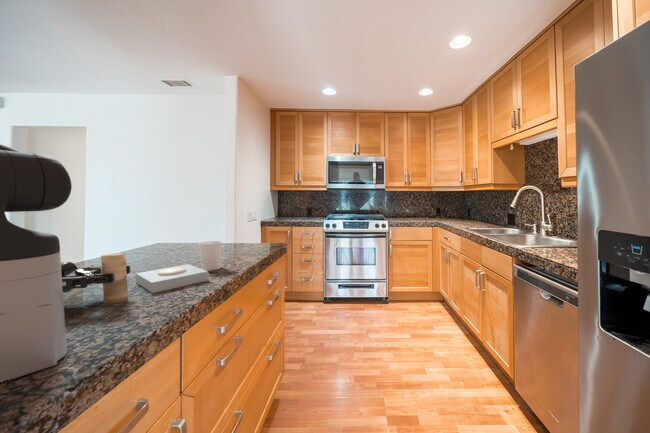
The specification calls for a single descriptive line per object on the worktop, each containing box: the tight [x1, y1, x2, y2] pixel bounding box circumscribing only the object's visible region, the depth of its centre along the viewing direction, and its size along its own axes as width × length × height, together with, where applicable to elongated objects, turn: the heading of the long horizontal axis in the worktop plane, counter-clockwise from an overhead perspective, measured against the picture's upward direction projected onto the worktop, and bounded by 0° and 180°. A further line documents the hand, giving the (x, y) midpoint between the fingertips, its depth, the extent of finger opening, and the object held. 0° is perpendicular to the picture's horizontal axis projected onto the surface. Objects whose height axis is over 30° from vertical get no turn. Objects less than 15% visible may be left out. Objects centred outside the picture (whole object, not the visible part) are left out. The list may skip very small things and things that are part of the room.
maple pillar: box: [100, 252, 129, 305], centre depth 71 cm, size 5×5×12 cm
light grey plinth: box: [135, 263, 210, 294], centre depth 88 cm, size 16×16×3 cm
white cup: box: [198, 240, 222, 272], centre depth 104 cm, size 8×8×10 cm
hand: (122, 273), depth 71 cm, fingers open, 8 cm apart
